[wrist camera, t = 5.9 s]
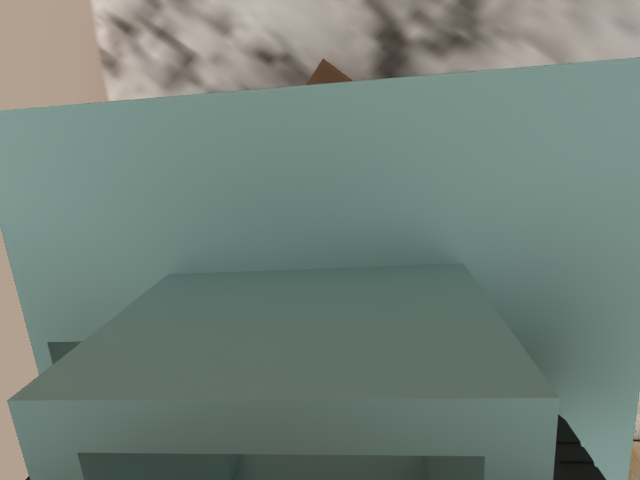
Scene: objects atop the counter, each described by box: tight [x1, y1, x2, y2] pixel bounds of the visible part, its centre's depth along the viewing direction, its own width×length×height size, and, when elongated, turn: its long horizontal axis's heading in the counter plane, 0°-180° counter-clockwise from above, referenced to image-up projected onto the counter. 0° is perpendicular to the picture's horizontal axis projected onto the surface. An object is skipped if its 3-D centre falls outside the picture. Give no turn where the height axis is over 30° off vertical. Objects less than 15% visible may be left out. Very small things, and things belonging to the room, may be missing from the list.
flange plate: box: [0, 58, 640, 480], centre depth 8 cm, size 13×13×6 cm
